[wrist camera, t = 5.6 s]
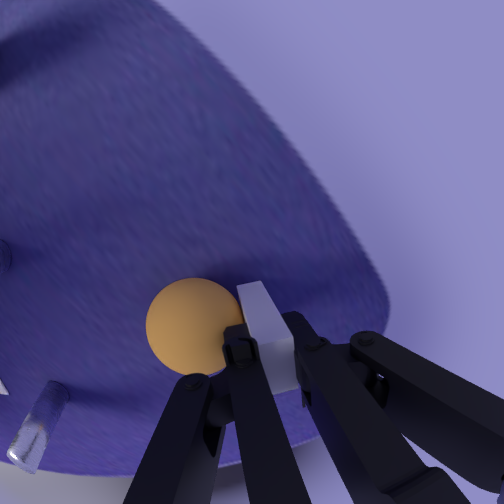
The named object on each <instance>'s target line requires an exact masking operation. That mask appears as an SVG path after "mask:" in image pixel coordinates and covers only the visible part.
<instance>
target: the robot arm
mask: <svg viewBox="0 0 504 504" xmlns="http://www.w3.org/2000/svg"><path fill="white" fill-rule="evenodd" d="M237 291H238V296H239V301H240V306H241V310H242V313H243V317H244V322H245V323H243V324H238V325H233V326H228V327H226V329H225V330H224V332H223V336H224V344H223V346H222V352H223V355H224V359H225V363H226V368H225V369H224V370H223V371H222V372H221V373H219V374H217V375H215V376H213V377H210V378H209V377H208V376H207V375H205V374H203V373H191V374H188V375H185V376H183V377H182V378H180V379H179V380H178V382H177V383H176V385H175V387H174V389H173V392H172V394H171V396H170V398H169V400H168V403H167V405H166V407H165V409H164V411H163V414H162V416H161V418H160V420H159V422H158V425H157V427H156V429H155V431H154V433H153V436H152V438H151V440H150V442H149V445H148V447H147V449H146V451H145V454H144V456H143V458H142V460H141V463H140V465H139V467H138V469H137V472H136V474H135V476H134V479H133V481H132V483H131V486H130V488H129V490H128V492H127V495H126V497H125V499H124V502H123V504H210V501H211V496H212V491H213V487H214V482H215V477H216V473H217V468H218V463H219V459H220V454H221V449H222V444H223V439H224V435H225V430H226V424H228V423H230V422H233V421H235V426H236V432H237V438H238V444H239V449H240V455H241V460H242V466H243V471H244V476H245V482H246V486H247V491H248V497H249V501H250V504H312V503H311V500H310V498H309V495H308V492H307V490H306V487H305V485H304V482H303V479H302V476H301V474H300V471H299V469H298V466H297V463H296V460H295V457H294V455H293V452H292V449H291V446H290V443H289V441H288V438H287V435H286V432H285V429H284V427H283V424H282V421H281V418H280V415H279V412H278V409H277V406H276V404H275V401H274V398H273V395H274V394H278V393H282V392H286V391H290V390H294V389H298V382H299V384H300V386H301V394H302V405H303V408H304V407H305V404H306V406H307V408H308V410H309V412H310V414H311V416H312V418H313V420H314V423H315V425H316V427H317V429H318V431H319V433H320V435H321V437H322V439H323V441H324V443H325V445H326V447H327V450H328V452H329V453H330V456H331V458H332V460H333V462H334V464H335V466H336V468H337V470H338V472H339V474H340V476H341V478H342V480H343V482H344V484H345V486H346V488H347V490H348V492H349V494H350V496H351V498H352V500H353V502H354V504H471V503H470V502H469V500H468V499H467V498H466V497H465V496H464V494H463V493H462V492H461V490H460V489H459V488H458V487H457V485H456V484H455V483H454V482H453V480H452V479H451V478H450V476H449V475H448V474H447V473H446V472H445V471H444V470H443V469H441V468H439V467H428V466H426V465H425V464H424V463H423V462H422V460H421V459H420V458H419V456H418V455H417V454H416V452H415V451H414V450H413V449H412V447H411V446H410V445H409V443H408V442H407V441H406V439H405V438H404V437H403V435H404V436H405V437H407V438H408V439H409V440H411V441H412V442H414V443H415V444H416V445H417V446H419V447H420V448H421V449H423V450H425V452H427V453H428V454H430V455H431V456H432V457H434V458H435V459H437V460H438V461H439V462H441V463H442V464H444V465H445V466H447V467H448V468H450V469H451V470H453V471H454V472H455V473H457V474H458V475H460V476H461V477H463V478H464V479H466V480H467V481H469V482H470V483H472V484H473V485H475V486H477V487H479V488H481V489H484V490H486V491H489V492H492V493H497V494H500V495H499V497H498V499H497V504H504V399H501V398H500V397H498V396H496V395H494V394H492V393H490V392H488V391H486V390H484V389H482V388H480V387H478V386H477V385H475V384H473V383H471V382H469V381H466V380H465V379H463V378H461V377H459V376H457V375H455V374H454V373H452V372H449V371H448V370H446V369H444V368H442V367H440V366H438V365H436V364H434V363H433V362H431V361H429V360H427V359H425V358H423V357H421V356H419V355H418V354H416V353H414V352H412V351H410V350H408V349H406V348H404V347H403V346H401V345H399V344H397V343H395V342H393V341H391V340H389V339H388V338H386V337H384V336H382V335H380V334H378V333H376V332H373V331H361V332H358V333H355V334H354V335H353V336H351V338H350V343H348V344H331V343H330V341H329V340H327V339H326V338H324V337H320V336H318V335H317V334H316V332H315V331H314V330H313V328H312V327H311V326H310V324H309V323H308V322H307V320H306V319H305V318H304V316H303V315H302V314H300V313H298V312H296V311H293V312H288V313H284V314H280V313H279V311H278V310H277V308H276V306H275V304H274V303H273V301H272V299H271V297H270V296H269V294H268V292H267V290H266V289H265V287H264V285H263V284H262V282H261V281H256V282H251V283H247V284H242V285H237ZM379 374H380V375H381V376H383V377H384V378H382V377H380V376H379ZM402 434H403V435H402Z"/></svg>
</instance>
